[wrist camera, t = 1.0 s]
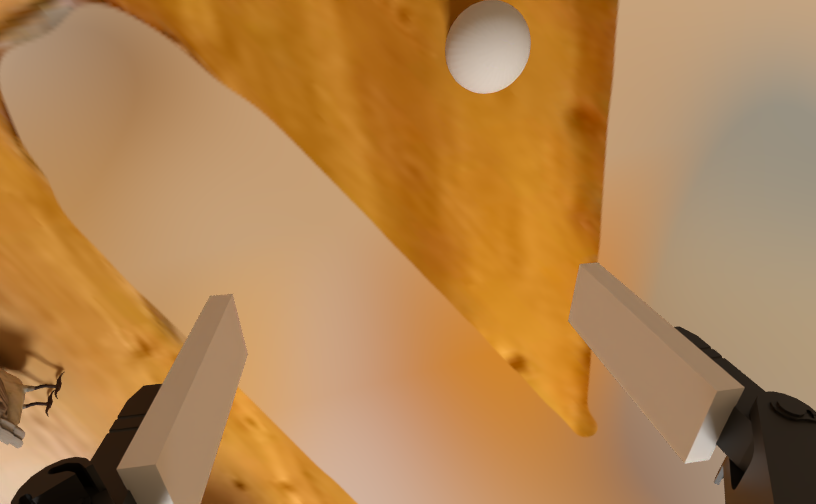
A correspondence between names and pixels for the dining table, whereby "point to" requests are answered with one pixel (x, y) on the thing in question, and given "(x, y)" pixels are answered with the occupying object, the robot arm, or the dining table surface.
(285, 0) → the dining table surface
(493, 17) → the light bulb
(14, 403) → the decorative bird
